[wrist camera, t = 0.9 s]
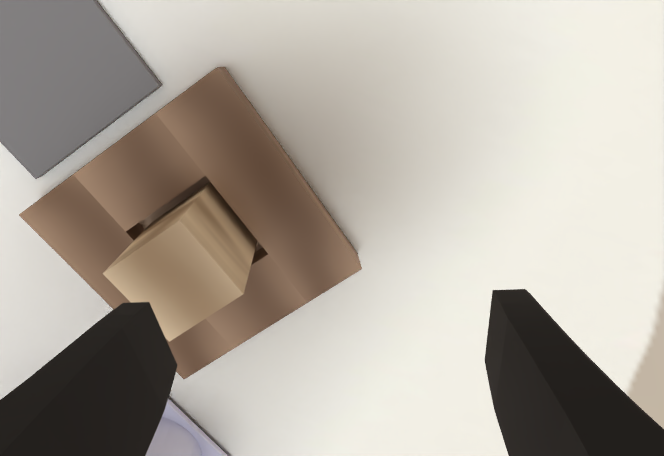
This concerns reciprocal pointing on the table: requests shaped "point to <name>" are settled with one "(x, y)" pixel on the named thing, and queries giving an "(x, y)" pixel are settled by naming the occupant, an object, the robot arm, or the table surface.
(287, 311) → the pocket block
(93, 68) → the rubber mat
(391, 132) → the table surface
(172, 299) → the birch peg
